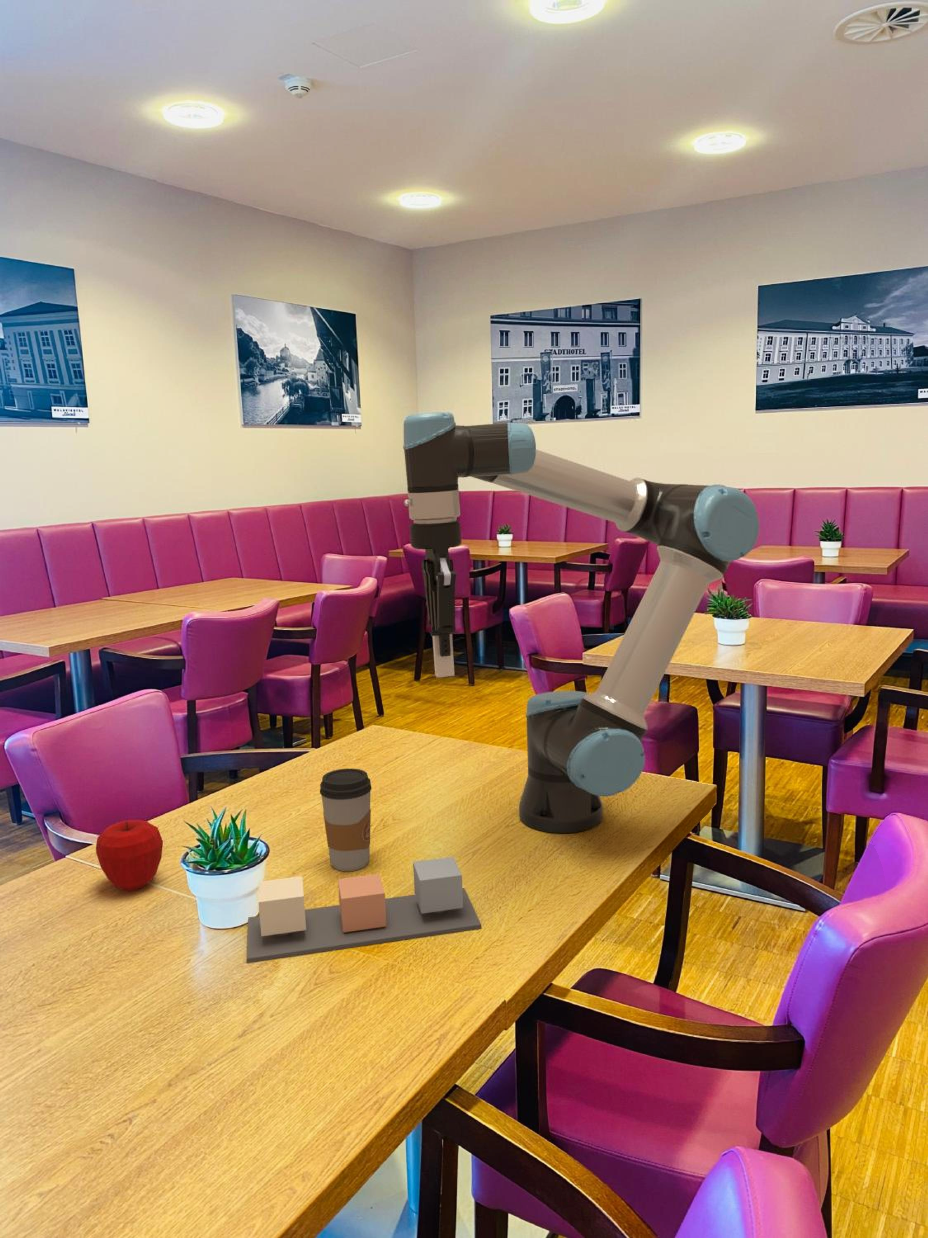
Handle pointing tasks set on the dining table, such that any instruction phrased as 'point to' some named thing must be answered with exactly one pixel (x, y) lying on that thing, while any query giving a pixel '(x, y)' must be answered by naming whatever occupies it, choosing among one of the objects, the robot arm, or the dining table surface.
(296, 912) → the block cream
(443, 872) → the block slate
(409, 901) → the strip
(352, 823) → the coffee cup
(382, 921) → the block terracotta
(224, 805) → the dining table surface
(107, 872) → the apple
